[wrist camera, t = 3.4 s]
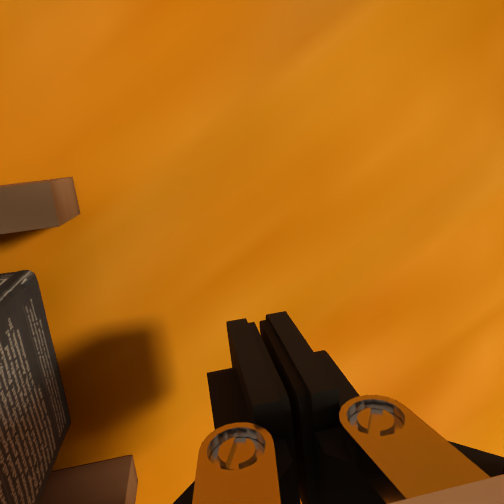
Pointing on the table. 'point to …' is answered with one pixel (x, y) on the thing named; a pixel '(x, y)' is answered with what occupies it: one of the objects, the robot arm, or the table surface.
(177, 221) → the table surface
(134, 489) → the chute
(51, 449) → the small box
